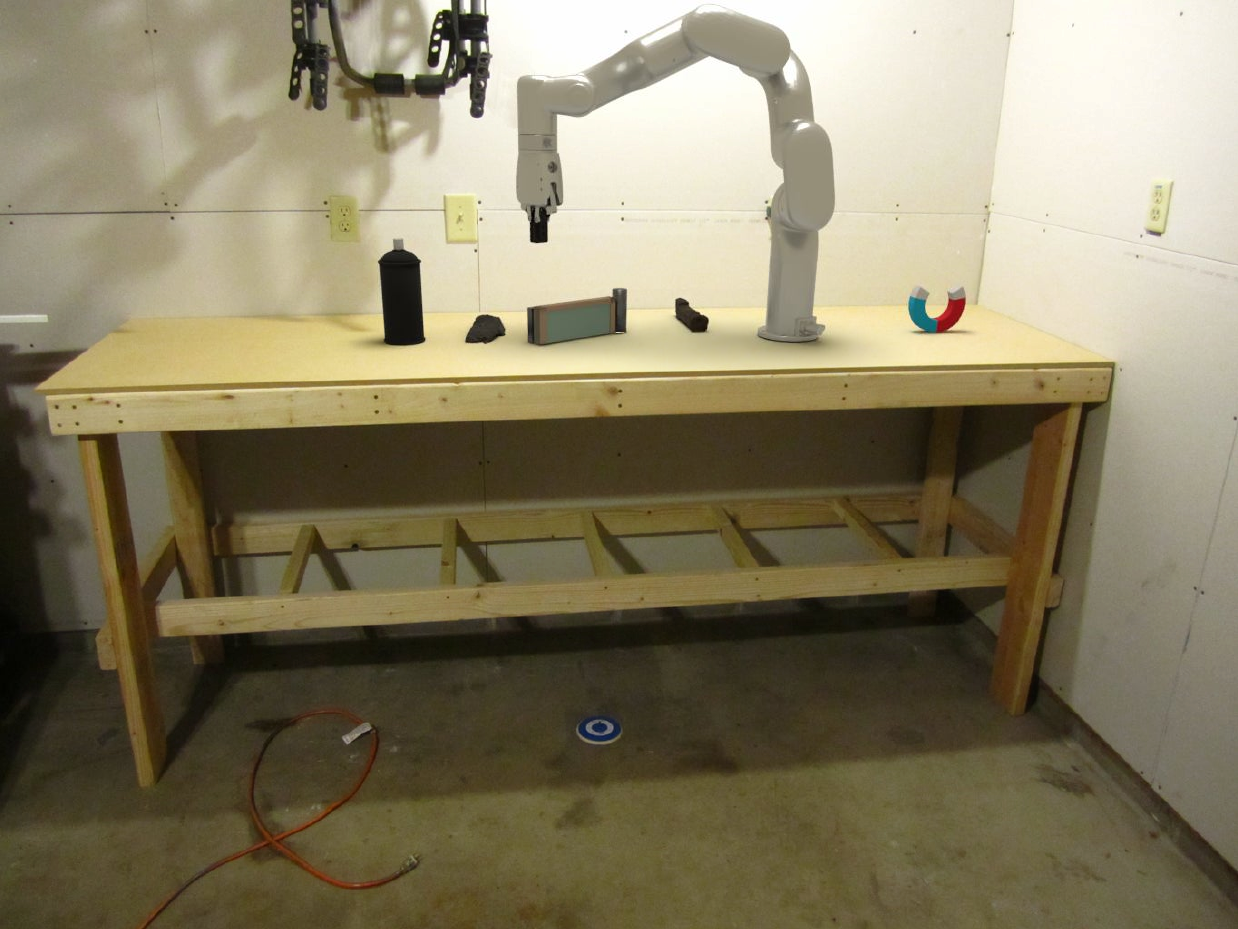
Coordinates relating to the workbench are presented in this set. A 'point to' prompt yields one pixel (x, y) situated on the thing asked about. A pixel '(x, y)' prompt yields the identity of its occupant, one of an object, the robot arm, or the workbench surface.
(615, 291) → the gate posts
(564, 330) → the gate
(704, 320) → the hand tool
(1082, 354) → the workbench surface
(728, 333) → the workbench surface
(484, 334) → the wood
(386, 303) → the aerosol can
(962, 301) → the magnet
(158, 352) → the workbench surface
